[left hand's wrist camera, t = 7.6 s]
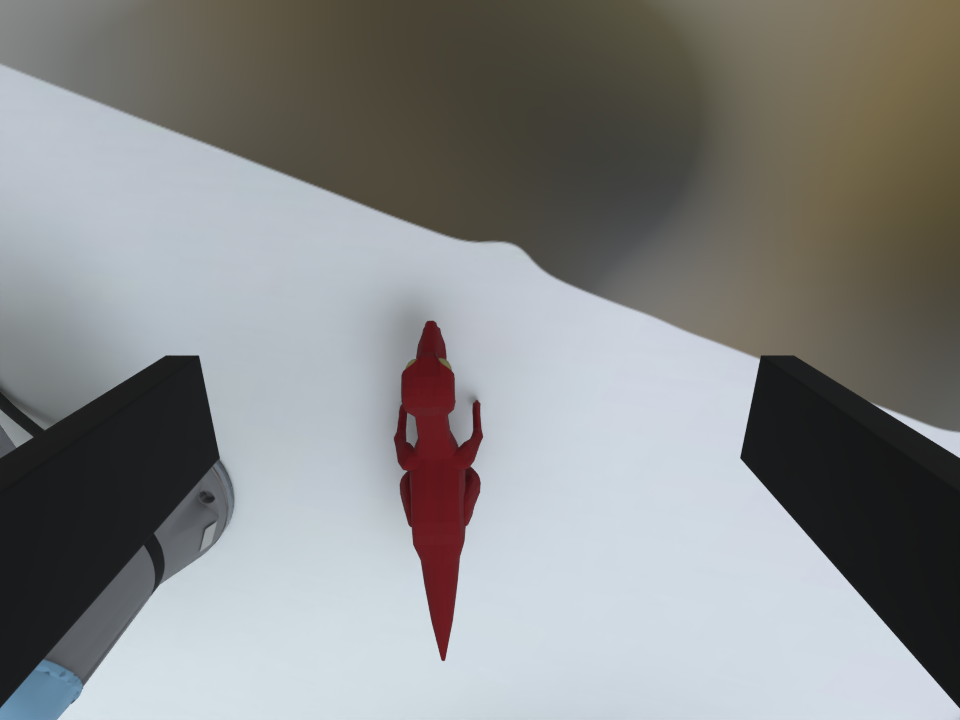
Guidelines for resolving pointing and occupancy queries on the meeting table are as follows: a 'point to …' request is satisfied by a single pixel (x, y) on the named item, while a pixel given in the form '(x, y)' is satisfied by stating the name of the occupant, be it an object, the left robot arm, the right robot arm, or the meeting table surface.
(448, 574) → the toy
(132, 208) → the meeting table surface
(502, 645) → the meeting table surface
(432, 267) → the meeting table surface
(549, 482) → the meeting table surface
